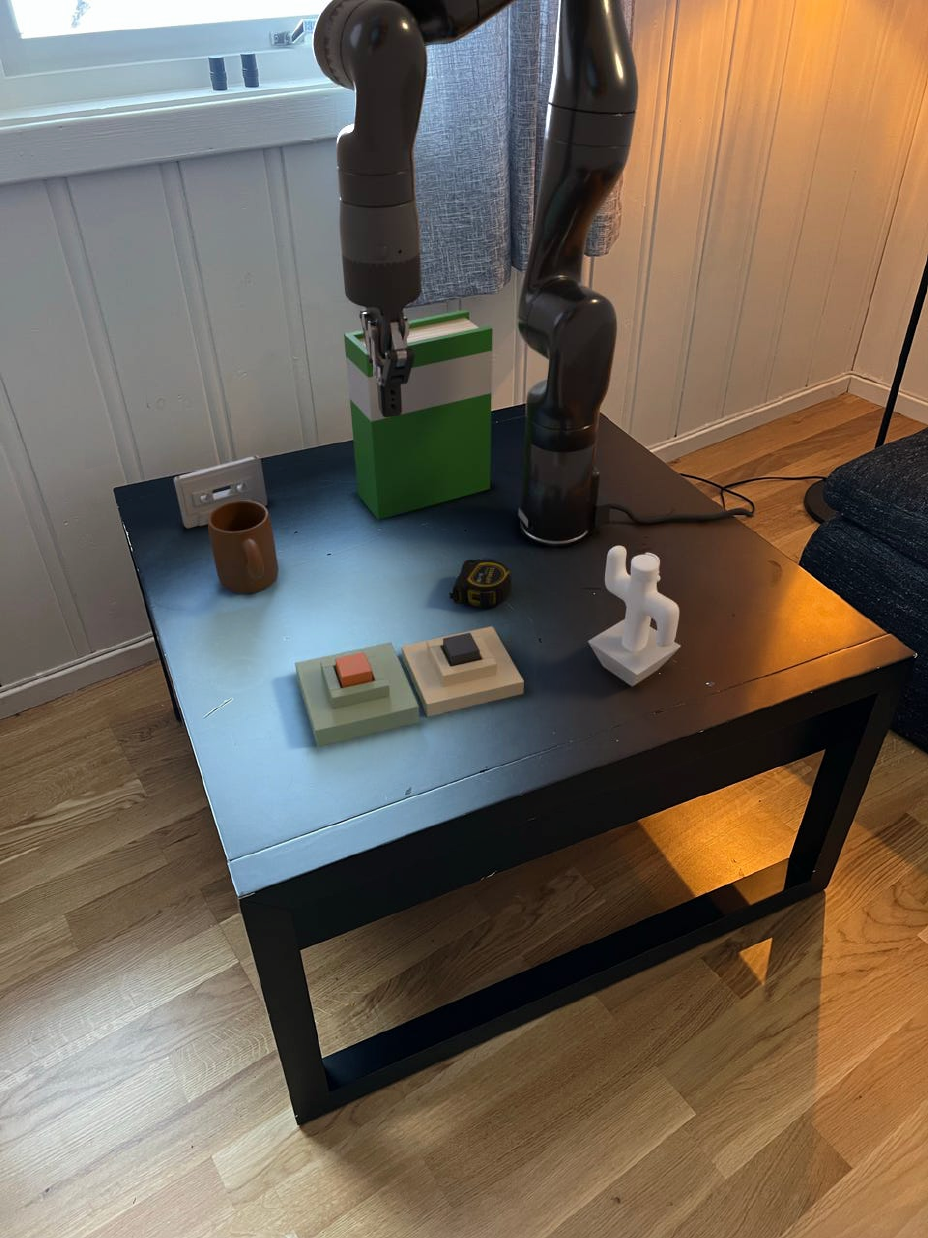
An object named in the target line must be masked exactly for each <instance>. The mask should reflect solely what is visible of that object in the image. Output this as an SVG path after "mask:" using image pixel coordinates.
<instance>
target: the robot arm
mask: <svg viewBox="0 0 928 1238" xmlns="http://www.w3.org/2000/svg"><path fill="white" fill-rule="evenodd" d="M515 2H517V0H330V1H329V2H328V3H327V4H326V5H325V6H324V7H323V9H322V11H321V12H320V13H319V16H318V18H317V20H316V22H315V24H314V28H313V34H312V51H313V55H314V59H315V62H316V64H317V66H318V68H319V69H320V71H321V72H322V73H323V75H324V76H325V77H326V78H327V79H328V80H330V82H332V83H334V84H335V85H337V86H339V87H341V88H344V89H345V90H350V91H353V92H355V105H354V114H353V115H354V117H353V124H351V125H347V126H346V127H344V128H343V129H342V130H341V131H340V132H339V134H338V137H337V140H336V167H337V179H338V191H339V192H338V193H339V237H340V248H341V261H342V273H343V274H342V275H343V282H344V283H343V284H344V294H345V296H346V298H347V300H348V301H350V302H351V303H352V304H354V305H357V306H359V307H363V308H365V309H360V310H359V319H360V322H361V327H362V330H363V333H364V338H365V343H366V347H367V352H368V357H369V359H368V360H369V363H370V366H371V367H373V370H374V371H373V375H374V376H375V379H377V391H378V406H379V410H380V412H381V414H382V415H383V417H392V416H398V415H400V414H401V413H402V400H401V384H407V383H408V379H409V376H410V372H411V368H412V365H413V361H414V356H415V352H414V350H413V348H412V347H409V348H407V337H408V335H409V322H408V321H409V318H408V317H407V316H405V313H404V308H406V306H408V305H409V304H410V303H414V302H415V301H416V300H418V299H419V298H420V296H421V294H422V291H423V290H422V264H421V262H422V261H421V258H422V257H421V233H420V229H421V228H420V218H419V211H418V204H417V193H416V166H415V165H416V163H415V145H416V144H415V143H416V140H417V135H418V131H419V127H420V121H421V116H422V115H421V114H422V110H423V104H424V98H425V92H426V87H427V78H428V64H429V63H428V50H427V47H428V46H429V47H430V46H437V45H438V46H439V45H448V44H449V45H450V44H452V43H455V42H458V41H460V40H461V39H463V38H465V37H466V36H468V35H469V34H472V32H474V31H475V30H477V29H478V28H479V27H481V26H483V25H484V24H485V23H486V22H488V21H489V20H490V19H492V18H494V17H496V16H497V15H498V14H499V13H501V12H502V11H504V10H505V9H506V8H508V7H510V6H511V5H512V4H514V3H515ZM622 2H623V0H558V10H557V19H556V20H557V21H556V31H555V32H556V33H555V43H554V53H553V66H552V73H551V80H550V85H549V86H550V87H549V94H548V102H547V109H546V118H545V126H544V127H545V128H544V137H543V147H542V148H543V150H542V160H541V170H540V177H539V185H538V194H537V199H536V200H537V201H536V208H535V217H534V223H533V230H532V231H533V232H532V237H531V242H530V247H529V252H528V257H527V262H526V267H525V272H524V275H523V279H522V284H521V290H520V295H519V300H518V306H517V328H518V332H519V335H520V337H521V340H522V342H524V343H525V345H526V346H528V347H529V348H530V349H531V350H532V351H534V352H535V353H537V354H538V355H540V356H541V357H543V358H545V359H546V360H548V368H547V376H546V379H545V380H542V381H538V382H537V383H535V384H533V385H532V386H531V387H530V388H529V390H528V391H527V394H526V398H525V418H524V419H525V420H524V441H523V442H524V443H523V464H522V465H523V466H522V488H521V489H522V490H521V491H522V492H521V508H518V514H517V515H518V517H519V519H520V521H519V529H520V532H521V534H522V535H523V536H524V537H525V538H526V539H527V540H528V541H530V542H532V543H535V544H537V545H540V546H544V547H549V548H563V547H571V546H574V545H576V544H578V543H580V542H582V541H583V540H585V539H586V538H587V536H591V535H594V534H595V528H596V526H599V525H604V524H609V523H610V512H611V509H612V510H617V511H620V512H622V513H624V514H626V515H627V516H628V518H629V519H630V520H631V521H632V522H634V523H637V524H640V525H653V524H658V523H659V524H660V523H664V522H665V523H666V522H670V521H698V522H699V521H705V522H707V521H716V520H717V521H718V520H722V519H725V518H728V517H730V516H735V515H744V516H745V517H746V518H749V519H750V518H751V519H752V518H754V517H755V516H754V514H753V513H752V511H750V510H749V509H747V508H744V507H735V508H731V509H730V508H729V509H727V510H725V511H721V512H717V513H711V514H689V513H687V514H685V513H679V514H678V513H677V514H676V513H674V514H665V515H659V516H654V517H640V516H637V515H636V514H635V513H634V511H633V510H632V509H631V508H630V507H628V506H626V505H624V504H621V503H616V502H612V501H610V500H608V498H607V497H606V496H605V495H604V493H602V491H601V490H600V481H601V480H600V479H601V472H600V470H599V469H598V468H597V467H596V466H595V465H596V455H597V444H598V434H599V423H600V422H599V421H600V413H601V407H602V405H603V402H604V401H605V399H606V396H607V394H608V391H609V386H610V382H611V376H612V369H613V364H614V363H613V362H614V357H615V350H616V344H617V335H618V334H617V333H618V319H617V313H616V309H615V306H614V304H613V303H612V302H611V300H610V299H609V298H608V297H607V296H606V295H603V294H602V293H600V292H598V291H597V290H594V289H593V288H591V287H589V286H587V285H584V284H583V283H582V271H583V261H584V255H585V250H586V245H587V244H586V242H587V239H588V235H589V233H590V229H591V227H592V224H593V222H594V221H595V219H596V217H597V215H598V214H599V211H600V210H601V208H602V207H603V205H604V204H605V203H606V201H607V199H608V198H609V196H610V195H611V193H612V191H613V190H614V188H615V187H616V185H617V184H618V182H619V180H620V178H621V176H622V174H623V173H624V171H625V169H626V166H627V163H628V160H629V157H630V151H631V146H632V141H633V134H634V128H635V123H636V115H637V110H638V103H639V89H640V88H639V87H640V86H639V77H638V71H637V65H636V61H635V57H634V52H633V48H632V43H631V39H630V35H629V32H628V31H629V30H628V27H627V23H626V18H625V13H624V8H623V3H622Z"/></svg>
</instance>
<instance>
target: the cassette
mask: <svg viewBox="0 0 928 1238" xmlns="http://www.w3.org/2000/svg"><path fill="white" fill-rule="evenodd" d="M173 483H174V484H173V485H174V488H175V492H176V496H177V501H178V505H179V506H178V507H179V510H180V514H181V518H182V524H183V526H184V527H185V528H186V529H191V528H194V527H198V526H199V527H202V526H203V527H204V526H206V525H208V522H207V520H208V516H209V514H210V513H211V512H212V511H213V510H214V509H215V508H217V507H218V506H220V505H223V504H225V503H228V502H233V501H241V500H247V501H254V502H257V503H260V504H262V505H263V506H265V507H266V506H267V505H268V497H267V492H266V491H267V490H266V486H265V485H266V484H265V479H264V473H263V466H262V461H261V458H260V457H259V456H258V455H253V456H248V457H245V458H241V459H237V460H234V461H230V462H227V463H222V464H219V465H216V466H211V467H208V468H207V467H206V468H204V469H199V470H197V471H193V472H189V473H185V474H181V475H178V476H174V478H173ZM229 486H230V488H229V489H225V490H222V491H218V492H215V493H213V491H214V490H215V491H216V490H218V489H222V488H226V487H229Z"/></svg>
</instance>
